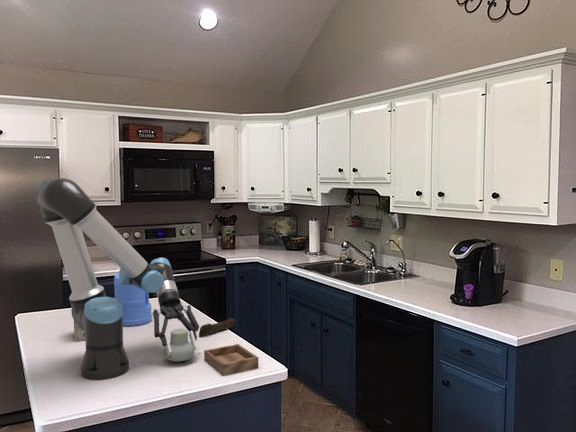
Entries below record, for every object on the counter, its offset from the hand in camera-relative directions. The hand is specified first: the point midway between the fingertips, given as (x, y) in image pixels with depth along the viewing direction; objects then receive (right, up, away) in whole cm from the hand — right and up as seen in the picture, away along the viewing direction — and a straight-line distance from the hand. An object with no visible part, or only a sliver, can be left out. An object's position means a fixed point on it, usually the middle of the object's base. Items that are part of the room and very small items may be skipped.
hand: (182, 351), depth 170 cm
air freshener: (-2, -4, +3) cm, 5 cm away
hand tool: (+7, -2, +36) cm, 36 cm away
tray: (+17, -4, 0) cm, 17 cm away
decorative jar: (-44, -2, +31) cm, 54 cm away
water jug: (-33, -1, +51) cm, 61 cm away
